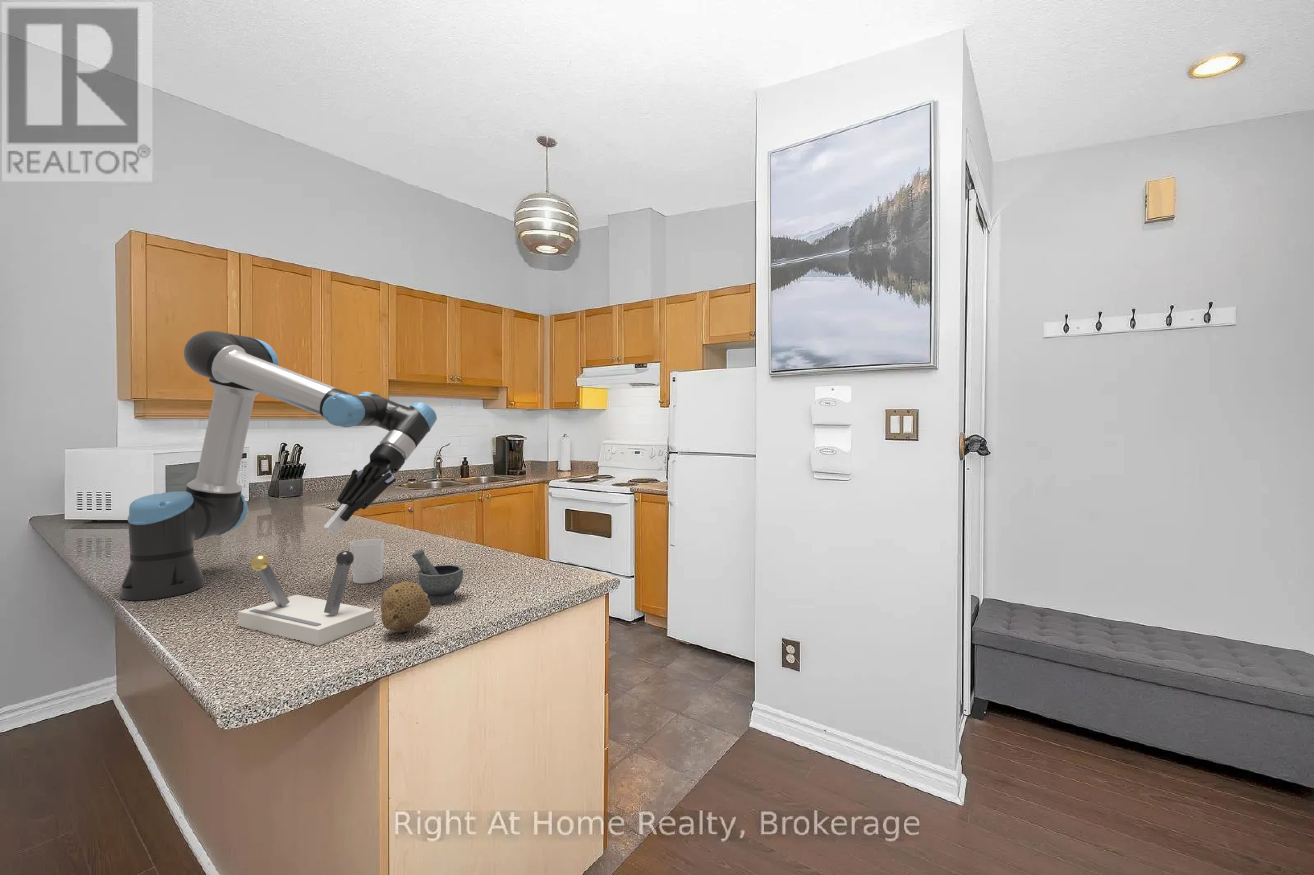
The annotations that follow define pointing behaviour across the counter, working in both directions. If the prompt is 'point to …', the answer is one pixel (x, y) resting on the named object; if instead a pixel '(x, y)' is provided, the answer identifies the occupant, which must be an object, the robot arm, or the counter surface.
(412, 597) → the natural sponge
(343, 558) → the black lever
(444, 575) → the mortar and pestle
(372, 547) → the white cup
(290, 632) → the control panel
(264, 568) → the brass lever
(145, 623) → the counter surface
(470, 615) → the counter surface
